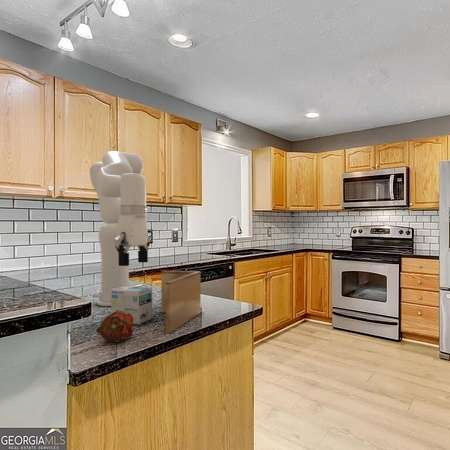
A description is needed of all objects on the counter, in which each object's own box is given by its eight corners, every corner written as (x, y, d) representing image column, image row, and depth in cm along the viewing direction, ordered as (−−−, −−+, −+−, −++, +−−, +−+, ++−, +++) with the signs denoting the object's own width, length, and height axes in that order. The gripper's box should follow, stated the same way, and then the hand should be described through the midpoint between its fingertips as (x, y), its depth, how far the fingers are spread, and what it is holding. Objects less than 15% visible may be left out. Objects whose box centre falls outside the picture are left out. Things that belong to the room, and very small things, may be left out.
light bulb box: (153, 318, 108) (153, 286, 107) (139, 325, 101) (139, 290, 101) (125, 316, 110) (125, 285, 110) (110, 322, 103) (109, 289, 103)
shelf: (125, 330, 96) (124, 280, 96) (163, 311, 116) (163, 270, 116) (170, 332, 94) (169, 282, 94) (201, 313, 114) (200, 271, 114)
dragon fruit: (120, 353, 83) (109, 346, 92) (147, 327, 88) (134, 323, 97) (96, 330, 80) (87, 326, 89) (126, 305, 86) (115, 303, 94)
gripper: (139, 212, 115) (139, 261, 115) (103, 210, 97) (104, 267, 97) (159, 212, 114) (159, 261, 114) (126, 210, 96) (127, 267, 96)
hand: (133, 263), depth 105 cm, fingers open, 9 cm apart
